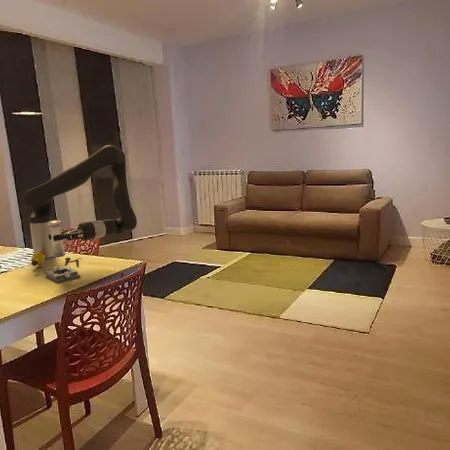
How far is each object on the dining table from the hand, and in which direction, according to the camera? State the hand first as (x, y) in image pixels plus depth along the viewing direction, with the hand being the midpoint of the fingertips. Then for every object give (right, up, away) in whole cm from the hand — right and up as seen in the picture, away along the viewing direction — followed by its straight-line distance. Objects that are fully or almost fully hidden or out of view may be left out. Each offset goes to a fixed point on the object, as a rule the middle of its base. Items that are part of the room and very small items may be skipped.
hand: (51, 237), depth 159 cm
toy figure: (-14, -14, +20) cm, 28 cm away
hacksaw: (+2, -13, +23) cm, 26 cm away
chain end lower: (+2, -16, +5) cm, 17 cm away
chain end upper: (+2, -16, +5) cm, 17 cm away
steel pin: (+2, -7, +3) cm, 8 cm away
